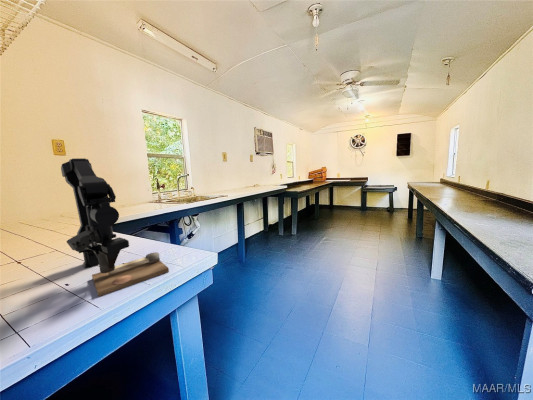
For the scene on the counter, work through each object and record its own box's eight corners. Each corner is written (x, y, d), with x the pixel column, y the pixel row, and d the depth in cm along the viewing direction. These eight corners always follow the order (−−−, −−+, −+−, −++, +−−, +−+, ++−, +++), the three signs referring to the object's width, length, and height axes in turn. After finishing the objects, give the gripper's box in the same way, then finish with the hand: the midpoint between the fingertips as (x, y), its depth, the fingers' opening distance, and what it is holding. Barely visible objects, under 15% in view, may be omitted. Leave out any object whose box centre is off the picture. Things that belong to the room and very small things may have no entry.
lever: (157, 257, 85) (154, 238, 84) (161, 260, 82) (159, 241, 81) (100, 275, 73) (96, 253, 71) (102, 279, 70) (98, 256, 68)
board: (92, 278, 74) (91, 274, 74) (155, 259, 88) (154, 255, 87) (98, 296, 63) (97, 291, 63) (168, 271, 77) (168, 267, 76)
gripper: (54, 224, 67) (63, 271, 69) (83, 231, 58) (93, 285, 60) (96, 215, 76) (103, 257, 79) (126, 221, 67) (133, 268, 70)
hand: (107, 266), depth 72 cm, fingers open, 5 cm apart
